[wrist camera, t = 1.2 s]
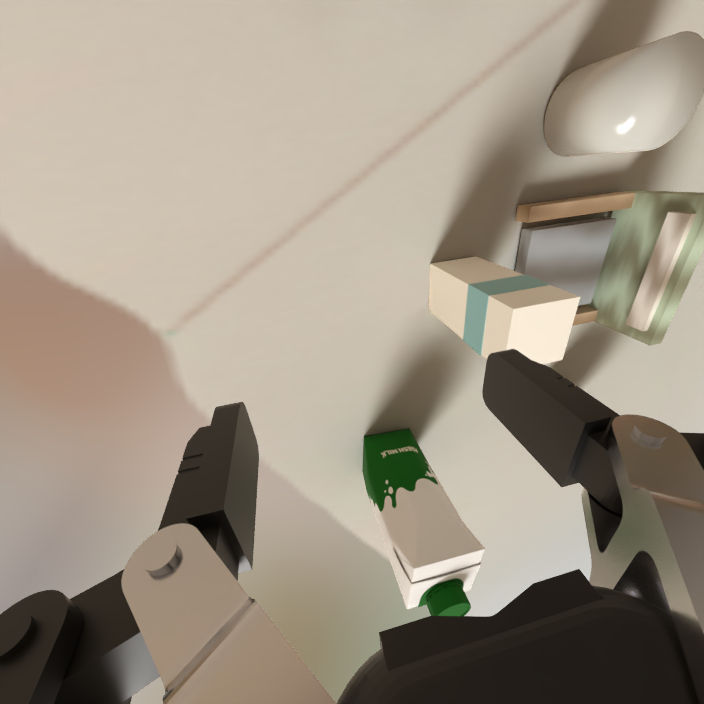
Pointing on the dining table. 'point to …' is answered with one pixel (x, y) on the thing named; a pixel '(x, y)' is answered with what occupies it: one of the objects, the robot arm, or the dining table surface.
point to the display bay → (618, 255)
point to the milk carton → (419, 526)
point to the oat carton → (501, 309)
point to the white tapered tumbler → (628, 99)
